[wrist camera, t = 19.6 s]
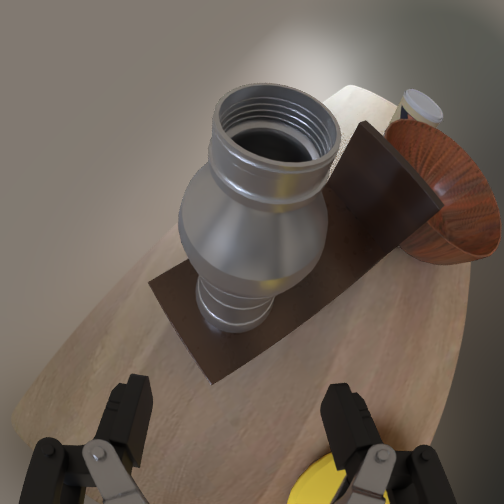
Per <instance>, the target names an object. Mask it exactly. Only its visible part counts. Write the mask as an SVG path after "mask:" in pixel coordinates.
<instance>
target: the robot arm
mask: <svg viewBox="0 0 504 504" xmlns="http://www.w3.org/2000/svg"><path fill="white" fill-rule="evenodd" d="M108 400H109V401H108V402H107V405H106V409H105V410H104V413H103V416H102V418H101V421H100V424H99V427H98V430H97V433H96V435H95V437H94V439H93V440H91V441H89V442H88V443H86V444H85V445H79V446H76V445H62V444H61V443H60V442H59V441H58V440H56V439H54V438H51V437H46V438H43V439H41V440H39V441H38V443H37V444H36V446H35V449H34V452H33V455H32V458H31V461H30V464H29V468H28V471H27V474H26V477H25V481H24V485H23V489H22V492H21V496H20V500H19V504H84V498H85V492H86V487H97V488H98V490H99V492H100V494H101V496H102V498H103V504H149V502H148V501H147V500H146V498H145V497H144V495H143V494H142V492H141V491H140V489H139V487H138V486H137V484H136V483H135V481H134V479H133V478H132V476H131V472H132V467H137V468H140V464H141V459H142V454H143V449H144V444H145V439H146V435H147V430H148V426H149V421H150V417H151V412H152V408H153V396H152V392H151V387H150V382H149V378H148V376H143V375H137V374H131V375H130V377H129V379H128V382H127V384H122V383H119V384H118V385H117V386H116V387H115V388H114V389H113V390H112V392H111V394H110V397H109V399H108ZM320 412H321V417H322V421H323V424H324V428H325V431H326V434H327V438H328V441H329V445H330V448H331V452H332V455H333V459H334V462H335V466H336V469H337V471H340V470H345V471H346V475H345V477H344V479H343V481H342V483H341V484H340V486H339V488H338V490H337V492H336V494H335V495H334V497H333V499H332V501H331V502H330V504H385V502H386V498H384V497H383V495H384V492H385V490H386V492H387V496H388V499H389V503H390V504H457V503H456V500H455V497H454V494H453V492H452V489H451V487H450V484H449V482H448V479H447V477H446V475H445V472H444V469H443V467H442V465H441V462H440V460H439V458H438V455H437V453H436V451H435V450H434V449H433V448H432V447H430V446H428V445H420V446H418V447H416V448H415V449H414V450H413V451H394V450H393V448H391V447H390V446H389V445H386V444H384V443H383V442H382V440H381V438H380V435H379V433H378V431H377V428H376V426H375V424H374V421H373V419H372V417H371V414H370V412H369V410H368V408H367V405H366V403H365V401H364V399H363V398H362V397H361V396H360V395H359V394H358V393H352V392H351V390H350V387H349V385H348V384H347V383H338V384H330V386H329V388H328V390H327V392H326V394H325V397H324V399H323V401H322V403H321V408H320Z"/></svg>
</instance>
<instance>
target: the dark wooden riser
mask: <svg viewBox="0 0 504 504" xmlns="http://www.w3.org/2000/svg"><path fill="white" fill-rule="evenodd" d="M322 194H323V197H324V200H325V204H326V208H327V213H328V228H327V235H326V240H325V246H324V249H323V252H322V254H321V257H320V259H319V261H318V262H317V264H316V265H315V267H314V268H313V270H312V271H311V272H310V273H309V274H308V275H307V276H306V277H305V278H303V279H302V280H301V281H300V282H299V283H297V284H296V285H295V286H293V287H292V288H290V289H288V290H286V291H284V292H283V293H280V294H278V295H276V296H275V298H274V302H273V306H272V309H271V311H270V313H269V315H268V316H267V318H266V319H265V320H264V321H263V322H262V323H261V324H260V325H259V326H257V327H256V328H254V329H252V330H249V331H246V332H242V333H230V332H225V331H222V330H219V329H217V328H216V327H214V326H212V325H211V324H210V323H209V322H208V321H207V320H206V319H205V318H204V317H203V315H202V314H201V312H200V310H199V308H198V305H197V301H196V285H197V279H198V277H199V274H198V273H197V271H196V270H195V268H194V267H193V266H192V264H191V263H190V261H189V259H187V260H186V261H184V262H182V263H180V264H179V265H177V266H175V267H173V268H172V269H170V270H168V271H167V272H165V273H163V274H161V275H160V276H158V277H156V278H155V279H153V280H151V281H149V282H148V284H149V285H150V287H151V289H152V291H153V293H154V295H155V296H156V298H157V300H158V302H159V303H160V305H161V307H162V309H163V310H164V312H165V314H166V316H167V317H168V319H169V321H170V322H171V324H172V326H173V327H174V329H175V331H176V332H177V334H178V335H179V337H180V339H181V340H182V342H183V343H184V345H185V347H186V348H187V350H188V351H189V353H190V354H191V356H192V357H193V359H194V360H195V362H196V364H197V365H198V367H199V368H200V369H201V371H202V372H203V374H204V375H205V377H206V378H207V380H208V381H209V383H210V384H211V385H213V384H215V383H216V382H218V381H219V380H221V379H223V378H224V377H226V376H227V375H229V374H230V373H232V372H234V371H235V370H237V369H238V368H240V367H241V366H243V365H244V364H246V363H247V362H249V361H250V360H252V359H253V358H255V357H256V356H258V355H259V354H261V353H262V352H264V351H265V350H266V349H268V348H269V347H271V346H272V345H274V344H275V343H276V342H278V341H279V340H281V339H282V338H283V337H285V336H286V335H288V334H289V333H290V332H292V331H293V330H294V329H296V328H297V327H299V326H300V325H301V324H303V323H304V322H305V321H307V320H308V319H309V318H311V317H312V316H313V315H314V314H316V313H317V312H318V311H320V310H321V309H322V308H323V307H325V306H326V305H327V304H329V303H330V302H331V301H332V300H334V299H335V298H336V297H337V296H339V295H340V294H341V293H342V292H344V291H345V290H346V289H347V288H348V287H350V286H351V285H352V284H353V283H354V282H356V281H357V280H358V279H359V278H360V277H362V276H363V275H364V274H365V273H366V272H367V271H369V270H370V269H371V268H372V267H373V266H374V265H375V264H377V263H378V262H379V261H380V260H381V259H382V258H383V257H384V256H386V255H387V254H388V253H389V252H391V251H392V250H393V249H394V248H396V247H397V246H398V245H399V244H401V243H402V242H403V241H404V240H406V239H407V238H408V237H409V236H410V235H412V234H413V233H414V232H415V231H416V230H418V229H419V228H420V227H421V226H422V225H424V224H425V223H426V222H427V221H428V220H429V219H431V218H432V217H433V216H434V215H435V214H436V213H437V212H439V211H440V210H441V209H442V208H443V207H444V204H443V202H442V201H441V200H440V199H439V197H438V196H437V195H436V194H435V192H434V191H433V190H432V189H431V187H430V186H429V185H428V184H427V183H426V181H425V180H424V179H423V178H422V177H421V176H420V175H419V173H418V172H417V171H416V170H415V169H414V168H413V167H412V166H411V164H410V163H409V162H408V161H407V160H406V159H405V158H404V157H403V156H402V155H401V154H400V153H399V152H398V151H397V150H396V149H395V148H394V147H393V146H392V145H391V144H390V143H389V142H388V141H387V140H386V139H385V138H384V137H383V136H382V135H381V134H380V133H379V132H378V131H377V130H376V129H375V128H374V127H373V126H372V125H371V124H370V123H368V122H367V121H363V122H360V123H359V124H358V126H357V128H356V130H355V132H354V134H353V136H352V138H351V139H350V141H349V143H348V145H347V147H346V149H345V151H344V153H343V154H342V156H341V158H340V160H339V162H338V164H337V165H336V167H335V169H334V171H333V173H332V175H331V176H330V178H329V180H328V182H327V183H326V184H325V186H324V187H323V189H322Z"/></svg>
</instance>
